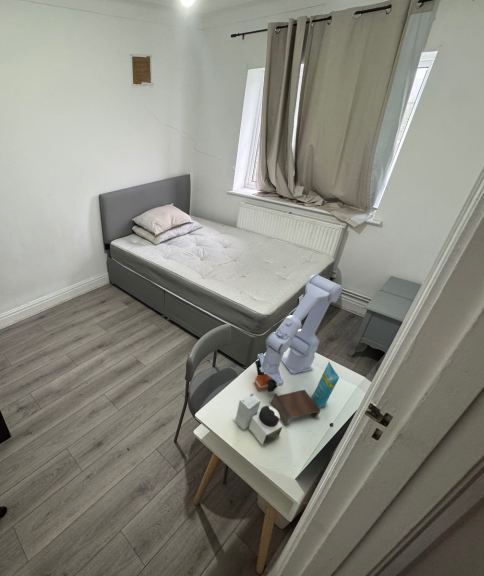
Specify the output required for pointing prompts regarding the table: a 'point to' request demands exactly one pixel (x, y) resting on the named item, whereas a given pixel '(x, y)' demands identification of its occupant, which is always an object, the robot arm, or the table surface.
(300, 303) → the robot arm
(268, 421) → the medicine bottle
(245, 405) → the cosmetic box
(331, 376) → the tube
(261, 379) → the snack box
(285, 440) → the table surface
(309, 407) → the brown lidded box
